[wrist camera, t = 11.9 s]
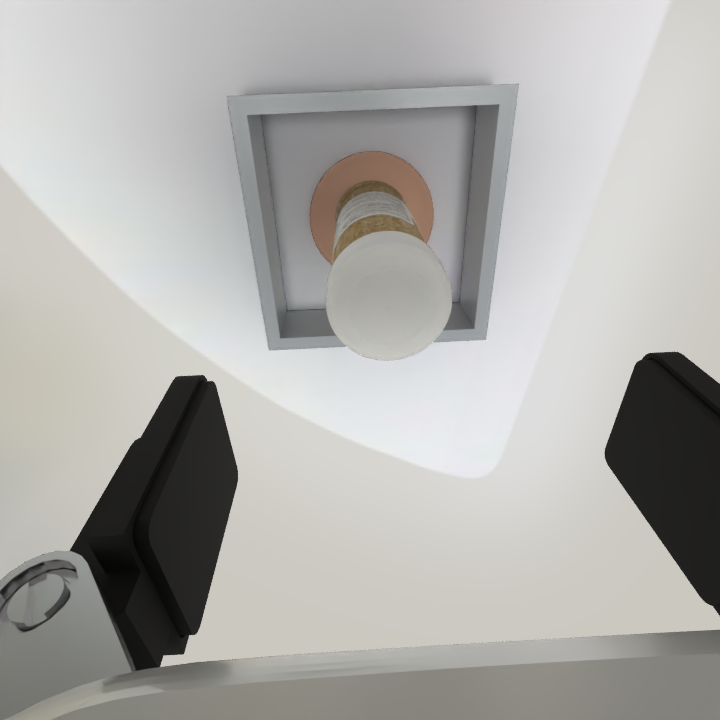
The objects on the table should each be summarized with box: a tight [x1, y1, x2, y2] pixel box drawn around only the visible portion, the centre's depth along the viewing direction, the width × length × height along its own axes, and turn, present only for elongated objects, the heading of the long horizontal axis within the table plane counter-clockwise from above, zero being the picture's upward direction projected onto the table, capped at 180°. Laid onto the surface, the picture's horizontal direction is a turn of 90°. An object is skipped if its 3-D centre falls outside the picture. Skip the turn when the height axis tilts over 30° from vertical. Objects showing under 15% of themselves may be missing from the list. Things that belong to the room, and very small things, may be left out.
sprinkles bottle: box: [326, 180, 452, 360], centre depth 21 cm, size 5×5×13 cm
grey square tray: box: [227, 84, 519, 350], centre depth 26 cm, size 14×14×4 cm
